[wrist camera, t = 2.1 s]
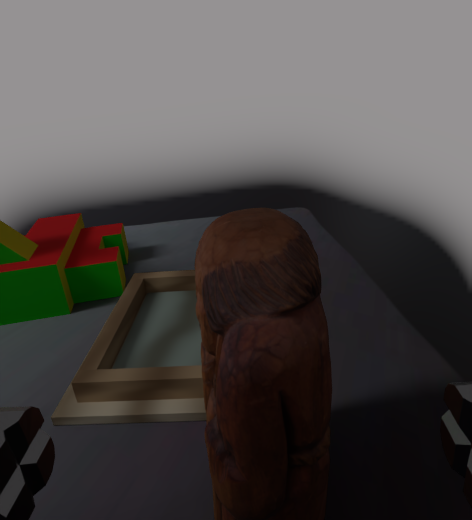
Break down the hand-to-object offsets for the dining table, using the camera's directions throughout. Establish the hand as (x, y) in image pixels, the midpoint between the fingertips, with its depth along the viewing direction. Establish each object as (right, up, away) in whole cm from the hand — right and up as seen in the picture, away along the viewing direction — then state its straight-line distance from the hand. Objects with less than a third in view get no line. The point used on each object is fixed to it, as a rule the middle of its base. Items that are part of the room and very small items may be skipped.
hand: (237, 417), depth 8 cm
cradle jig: (-6, -5, +33) cm, 34 cm away
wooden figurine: (+2, -11, +17) cm, 21 cm away
